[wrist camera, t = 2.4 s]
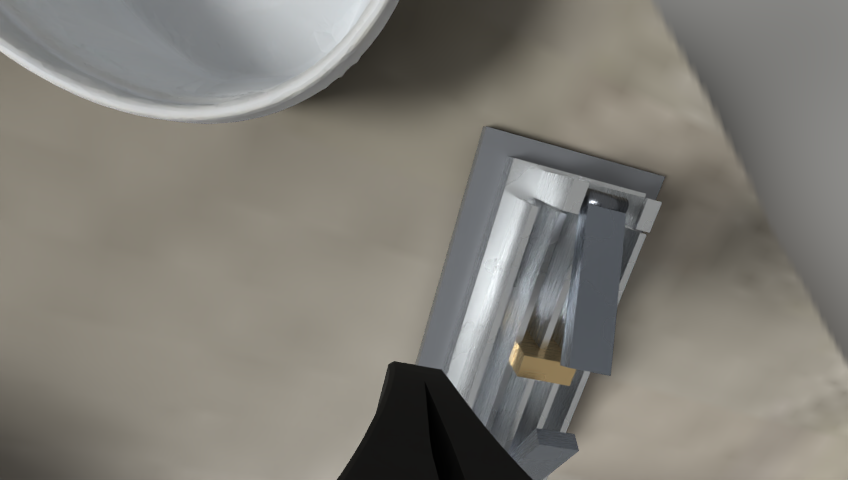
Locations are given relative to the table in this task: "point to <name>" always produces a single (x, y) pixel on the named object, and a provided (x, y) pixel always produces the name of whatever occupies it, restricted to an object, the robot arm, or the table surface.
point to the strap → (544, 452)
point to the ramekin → (191, 51)
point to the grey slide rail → (529, 301)
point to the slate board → (477, 212)
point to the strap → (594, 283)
